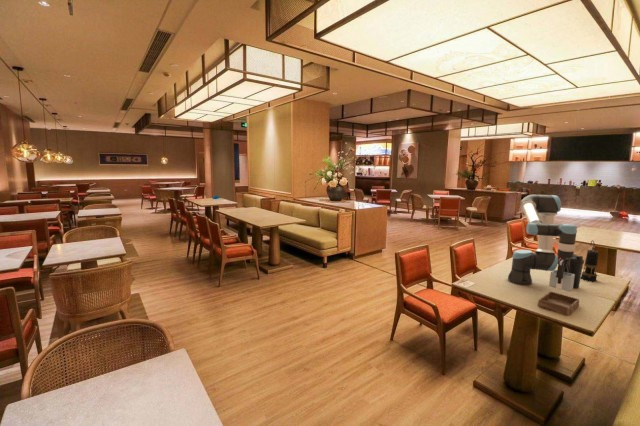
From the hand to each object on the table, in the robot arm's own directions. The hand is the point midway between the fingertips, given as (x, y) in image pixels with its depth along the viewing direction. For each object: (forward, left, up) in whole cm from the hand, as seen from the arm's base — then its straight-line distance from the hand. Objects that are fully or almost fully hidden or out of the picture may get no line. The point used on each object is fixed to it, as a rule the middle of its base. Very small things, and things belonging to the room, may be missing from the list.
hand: (560, 286), depth 188 cm
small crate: (0, 0, 0) cm, 0 cm away
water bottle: (-45, -5, -13) cm, 47 cm away
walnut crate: (0, 0, -13) cm, 13 cm away
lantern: (-71, -1, -13) cm, 72 cm away
